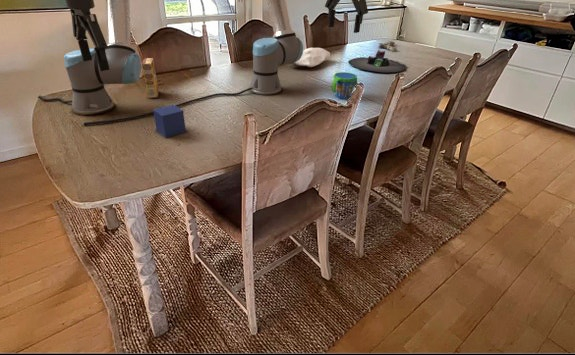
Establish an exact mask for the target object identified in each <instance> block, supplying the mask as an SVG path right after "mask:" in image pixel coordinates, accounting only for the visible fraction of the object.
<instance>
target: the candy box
mask: <svg viewBox="0 0 575 355" xmlns="http://www.w3.org/2000/svg"><path fill="white" fill-rule="evenodd" d="M141 68H142V73H143V78H144V82H145V87H146V92H147V97H148V99H151V98H153V99H154V98H158V96H159V91H160V90H159V84H158V79H157V73H156V66H155V62H154V58H153V57H151V58H150V57H149V58H146V57H145V58H143V60H142V62H141Z"/></svg>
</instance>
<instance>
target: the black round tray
mask: <svg viewBox="0 0 575 355" xmlns="http://www.w3.org/2000/svg"><path fill="white" fill-rule="evenodd" d="M385 55H386V51H385V50H380V49H378V50H377V52H376V53H375V55H374V56H371V55H369V56H368V57H365V56H364V57H362V56H360V57H355V58H351V59H349V60H348V61H347V63H348V64H349V65H350V66H352V67H354V68H356V69H358V70H364V71H369V72H376V73H385V74H386V73H399V72H402V71H404V70H406V68H407V65H406V64H404V63H402V62H401V63H400V62H399V61H395V60H392V59H389V58H388V57H385Z"/></svg>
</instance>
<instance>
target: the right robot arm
mask: <svg viewBox="0 0 575 355" xmlns="http://www.w3.org/2000/svg"><path fill="white" fill-rule="evenodd" d="M340 2H341V0H326V2H325V4H324V7H325V8H327V10H328V12H327V13H328V14H327V18H328V24H327V27H328V28H333V27H335V18H336V9H335V8H336V7H337V5H339V3H340ZM351 2H352V4H353V6H354V9H355V11H356V13H357V14H355V19H354V27H353V33H354V34H357V33H360V30H361V25H362V24H363V20H364V15H366V14H369V10H368V9H369V8H368V4H367V0H351ZM266 3H267V7H268V12H269V17H270V21H271V25H272V31H273V35H272V36H271V37H263V38H259V39H257V40H255V41H254V42H253V44H252V69H253V70H252V77H251V81H250V83H249V87H248V88H246V89H243V90H241V91H239V92H235V93H234V92H231V93H230V92H229V93H228V92H218V93H212V94H209V95H204V96H201V97H198V98H197V97H196V98H194V99H191V100H188V101H187V100H186V101H184V102H180V103H178V104H174V105H175V106H176V107H178V108H180V107H182V106H185V105H188V104H190V103H191V104H192V103H195V102H198V101H201V100H205V99H209V98H212V97H217V96H230V97H231V96H239V95H242V94H244V93H247V92H249V91H250V92H251V93H253V94H255V95H261V96H271V95H277V94H279V93H281V92H282V85H281V81H280V78H279V67H281V66H285V65H292V64H291V63H294V62H297V61H298V60H299V59H300V58H301V56H302V54H303V50H304V44H303V42H302V40H301V39H300V37H297V35H296V32H295V30H293V29H292V26H291V22H290V21H291V20H290V15H289V10H288V7H287V2H286V0H266ZM151 115H154V113H153V111H150V112H146V113H141V114H136V115H131V116H126V117H119V118H112V119H105V120H95V121H85V122H83V126H87V125H88V126H89V125H99V124H100V125H101V124H107V123H114V122H120V121H127V120H132V119H138V118H142V117H146V116H151Z"/></svg>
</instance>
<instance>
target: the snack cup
mask: <svg viewBox="0 0 575 355" xmlns="http://www.w3.org/2000/svg"><path fill="white" fill-rule="evenodd" d="M333 78H334V79H333V81H332V83H331V88H330V91H331V92H332V93H335V97H337V98H339V99H345V100H347V99H350V98H351V97H350V95H351V93H352V94H353V91H354V88H356V87H355V85H356V84H357V85H358V76H357V74H354V73H352V72H345V71H343V72H342V71H339V72H336V73H334V74H333ZM351 96H352V95H351ZM349 97H350V98H349Z"/></svg>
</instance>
